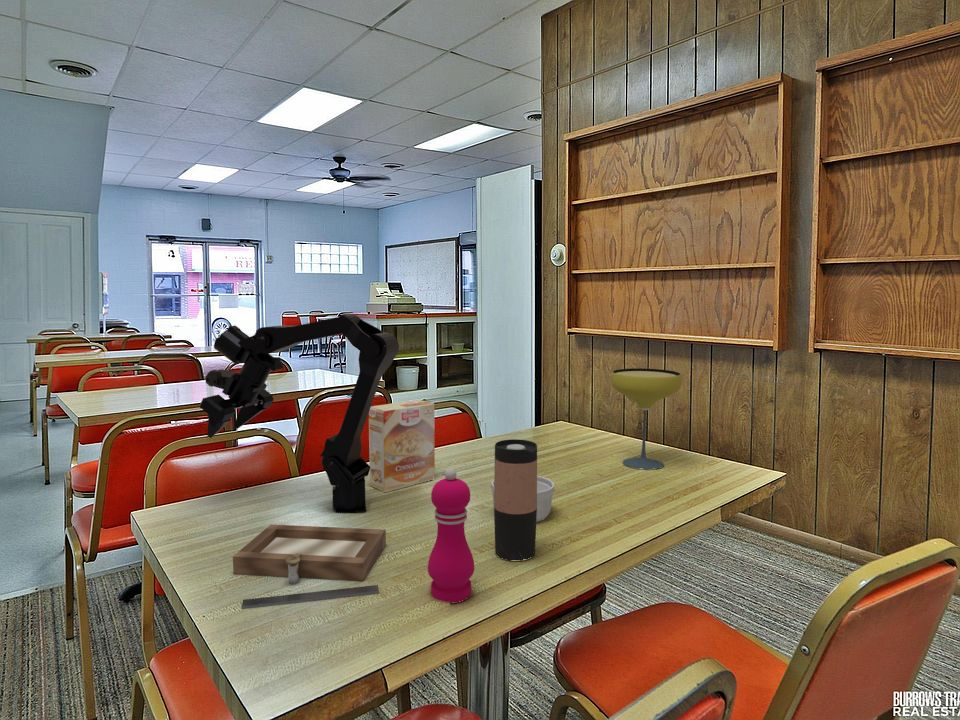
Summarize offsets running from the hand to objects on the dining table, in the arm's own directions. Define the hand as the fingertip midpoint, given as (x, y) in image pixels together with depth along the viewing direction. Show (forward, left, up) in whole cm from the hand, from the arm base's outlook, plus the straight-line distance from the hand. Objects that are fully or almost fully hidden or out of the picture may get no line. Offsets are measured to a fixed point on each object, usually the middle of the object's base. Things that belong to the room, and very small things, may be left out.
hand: (222, 431), depth 140 cm
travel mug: (-55, +45, -15) cm, 73 cm away
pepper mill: (-41, +57, -15) cm, 72 cm away
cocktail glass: (-105, -1, -15) cm, 107 cm away
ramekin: (-62, +27, -15) cm, 70 cm away
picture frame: (-20, +41, -15) cm, 48 cm away
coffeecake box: (-40, 0, -15) cm, 43 cm away
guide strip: (-20, +54, -15) cm, 60 cm away
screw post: (-17, +48, -15) cm, 53 cm away
